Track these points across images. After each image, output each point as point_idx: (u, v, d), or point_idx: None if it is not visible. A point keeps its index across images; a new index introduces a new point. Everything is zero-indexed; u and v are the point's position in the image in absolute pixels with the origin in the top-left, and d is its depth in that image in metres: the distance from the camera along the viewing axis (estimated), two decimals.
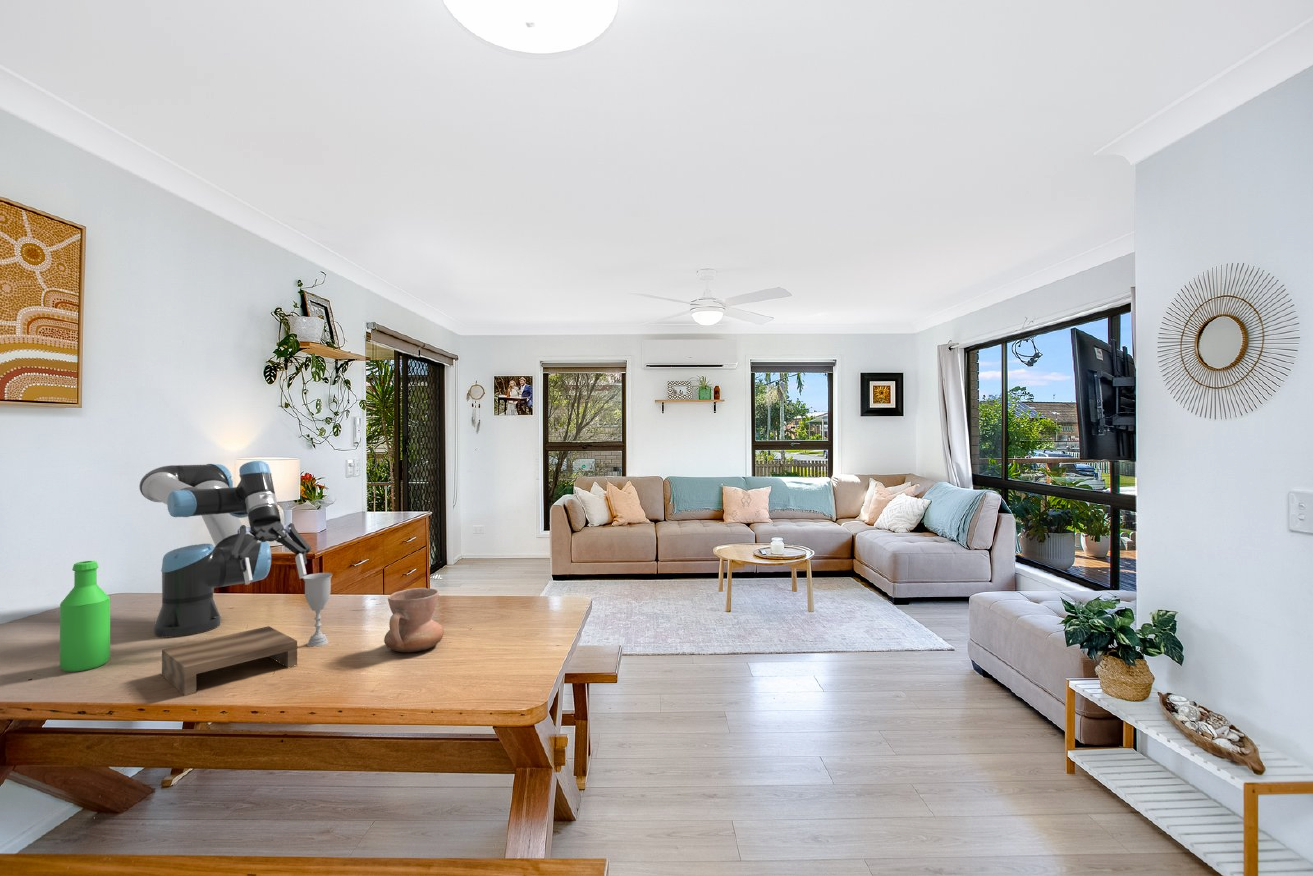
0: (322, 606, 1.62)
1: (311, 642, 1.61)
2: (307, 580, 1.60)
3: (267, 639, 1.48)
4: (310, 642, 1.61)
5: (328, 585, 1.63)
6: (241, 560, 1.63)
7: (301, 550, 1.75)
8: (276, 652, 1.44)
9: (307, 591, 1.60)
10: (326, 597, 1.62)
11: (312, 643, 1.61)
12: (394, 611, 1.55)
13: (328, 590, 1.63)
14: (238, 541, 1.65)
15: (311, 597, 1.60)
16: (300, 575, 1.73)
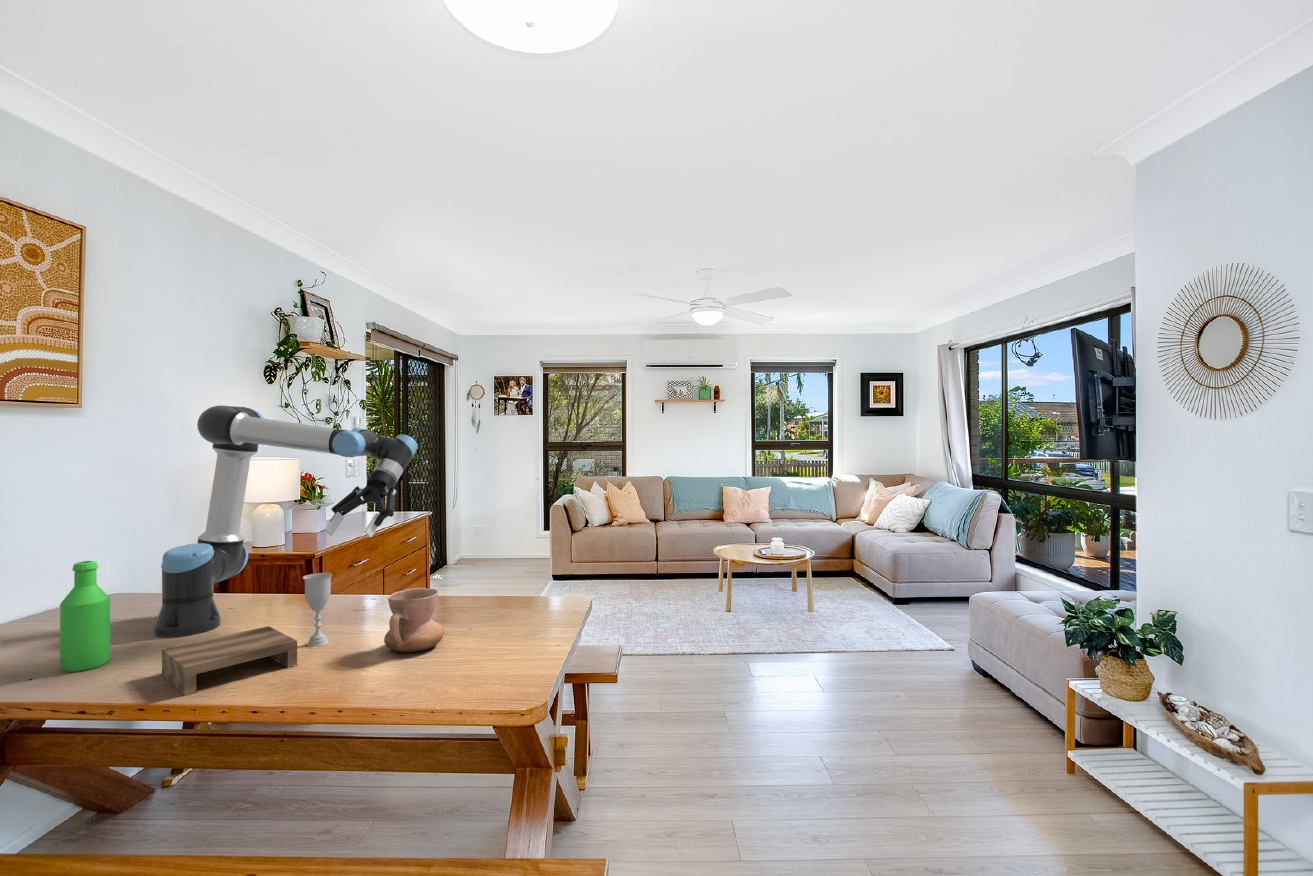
0: (322, 606, 1.63)
1: (311, 642, 1.61)
2: (307, 580, 1.60)
3: (267, 639, 1.48)
4: (310, 642, 1.61)
5: (328, 585, 1.63)
6: None
7: None
8: (276, 652, 1.44)
9: (307, 591, 1.60)
10: (326, 597, 1.62)
11: (312, 643, 1.61)
12: (394, 611, 1.55)
13: (328, 590, 1.63)
14: None
15: (311, 597, 1.60)
16: (329, 530, 1.75)
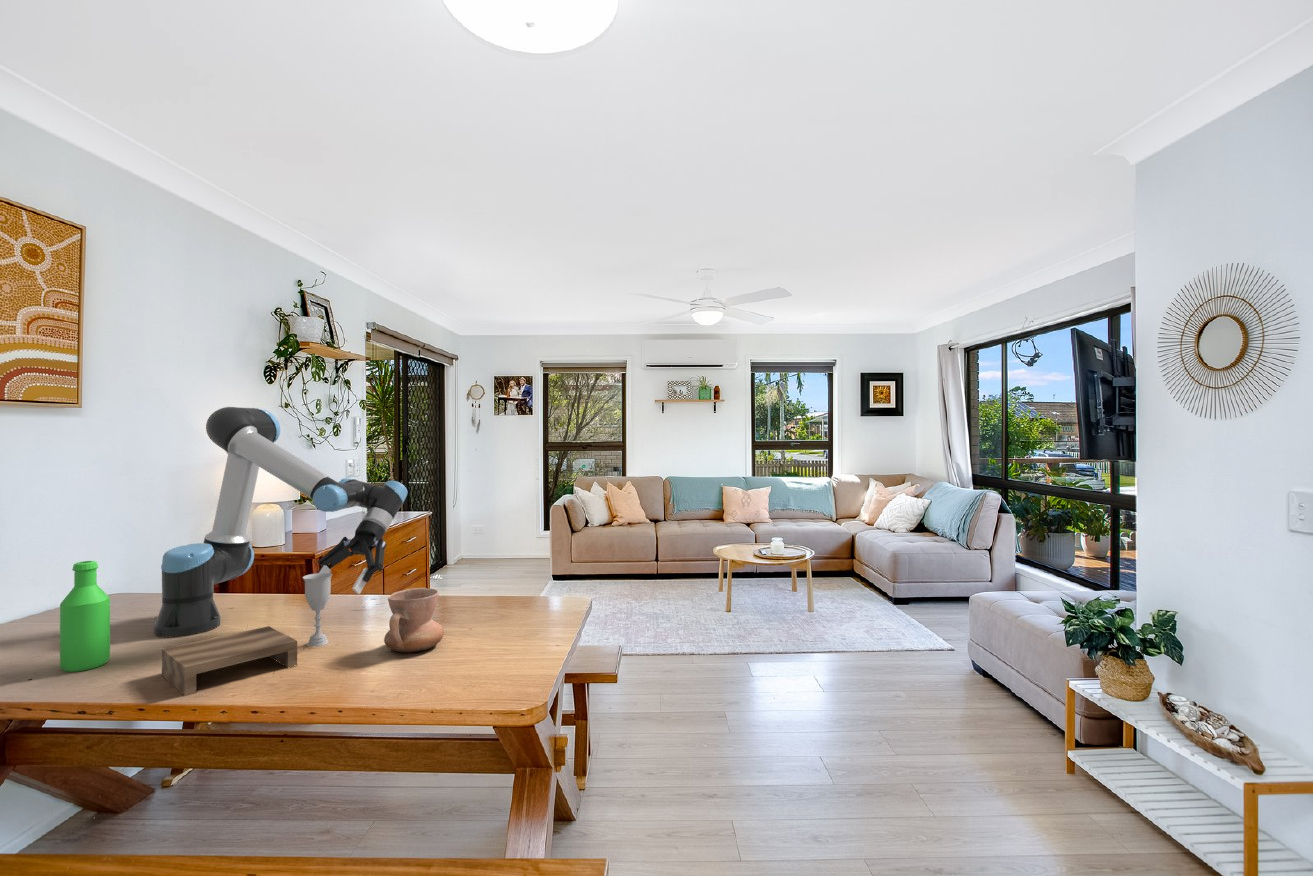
0: (322, 606, 1.62)
1: (311, 642, 1.61)
2: (307, 580, 1.60)
3: (267, 639, 1.48)
4: (310, 642, 1.61)
5: (328, 585, 1.63)
6: None
7: None
8: (276, 652, 1.44)
9: (307, 591, 1.60)
10: (326, 597, 1.62)
11: (312, 643, 1.61)
12: (394, 611, 1.55)
13: (328, 590, 1.63)
14: None
15: (311, 597, 1.60)
16: None
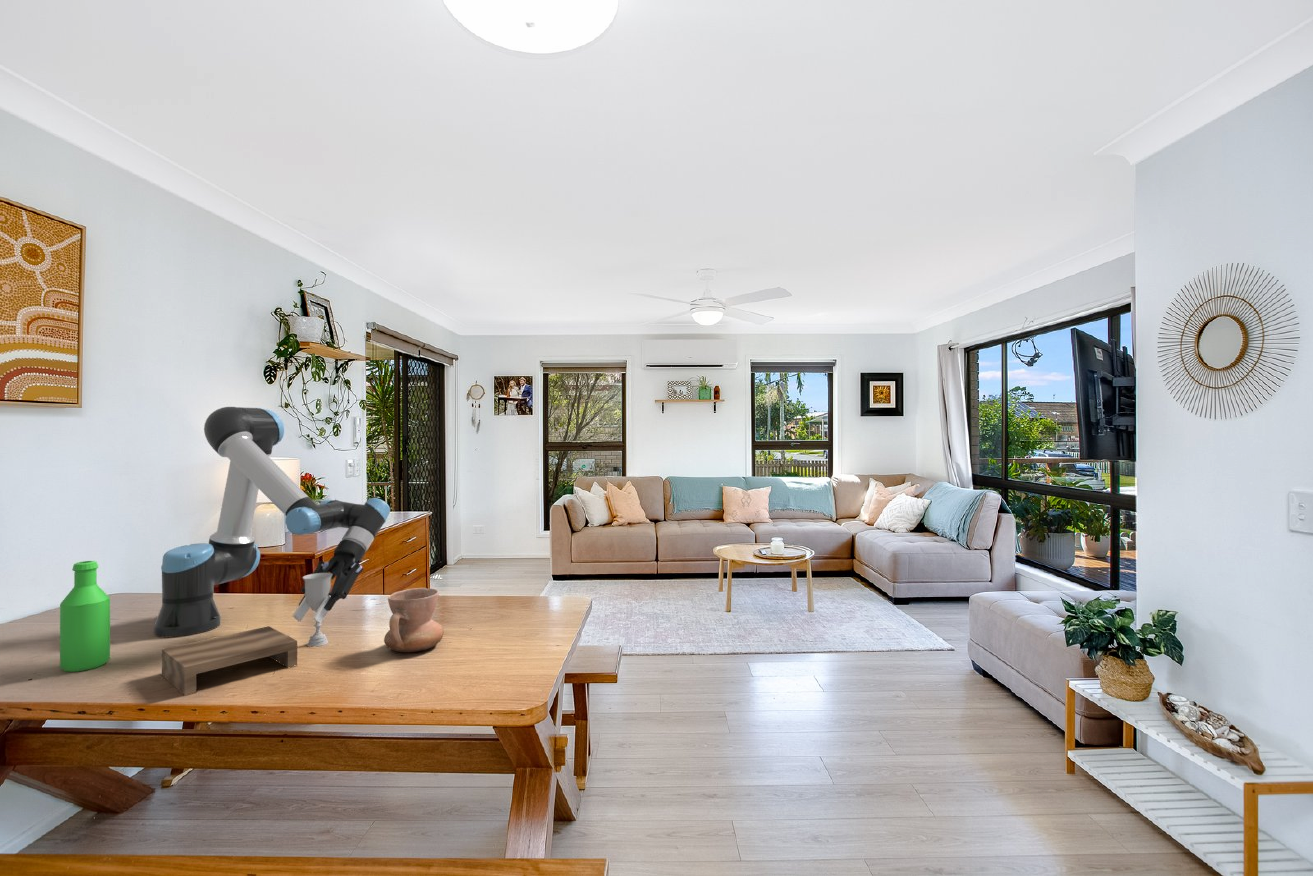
0: None
1: (311, 642, 1.61)
2: (307, 580, 1.60)
3: (267, 639, 1.48)
4: (310, 642, 1.61)
5: (328, 585, 1.63)
6: None
7: None
8: (276, 652, 1.44)
9: (307, 591, 1.60)
10: None
11: (312, 643, 1.61)
12: (394, 611, 1.55)
13: (328, 590, 1.63)
14: None
15: (311, 597, 1.60)
16: (297, 615, 1.60)
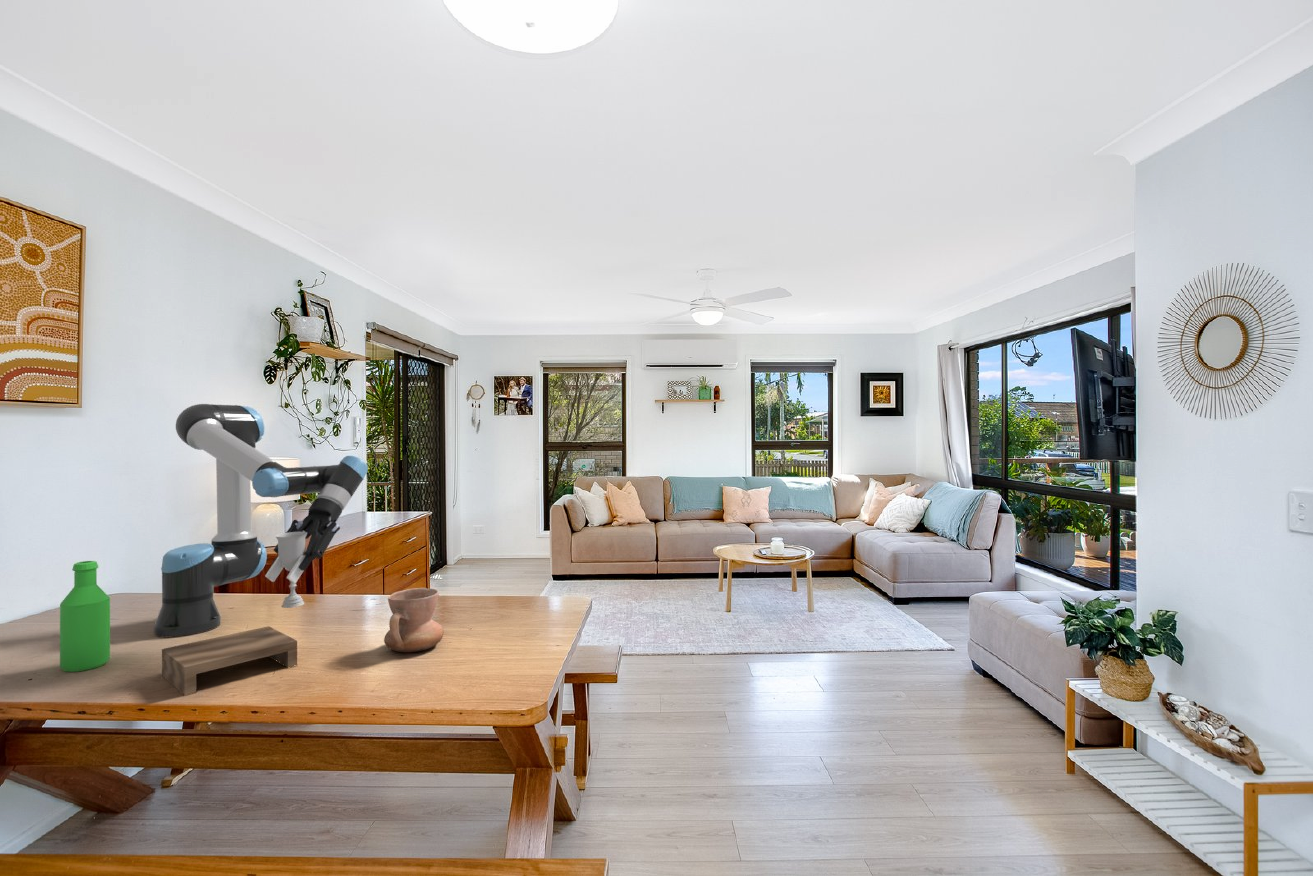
0: None
1: (286, 604, 1.54)
2: (280, 538, 1.52)
3: (267, 639, 1.48)
4: (285, 603, 1.54)
5: (303, 544, 1.55)
6: None
7: None
8: (276, 652, 1.44)
9: (280, 550, 1.52)
10: None
11: (287, 604, 1.53)
12: (394, 611, 1.55)
13: (303, 549, 1.55)
14: None
15: (284, 556, 1.52)
16: (270, 576, 1.52)
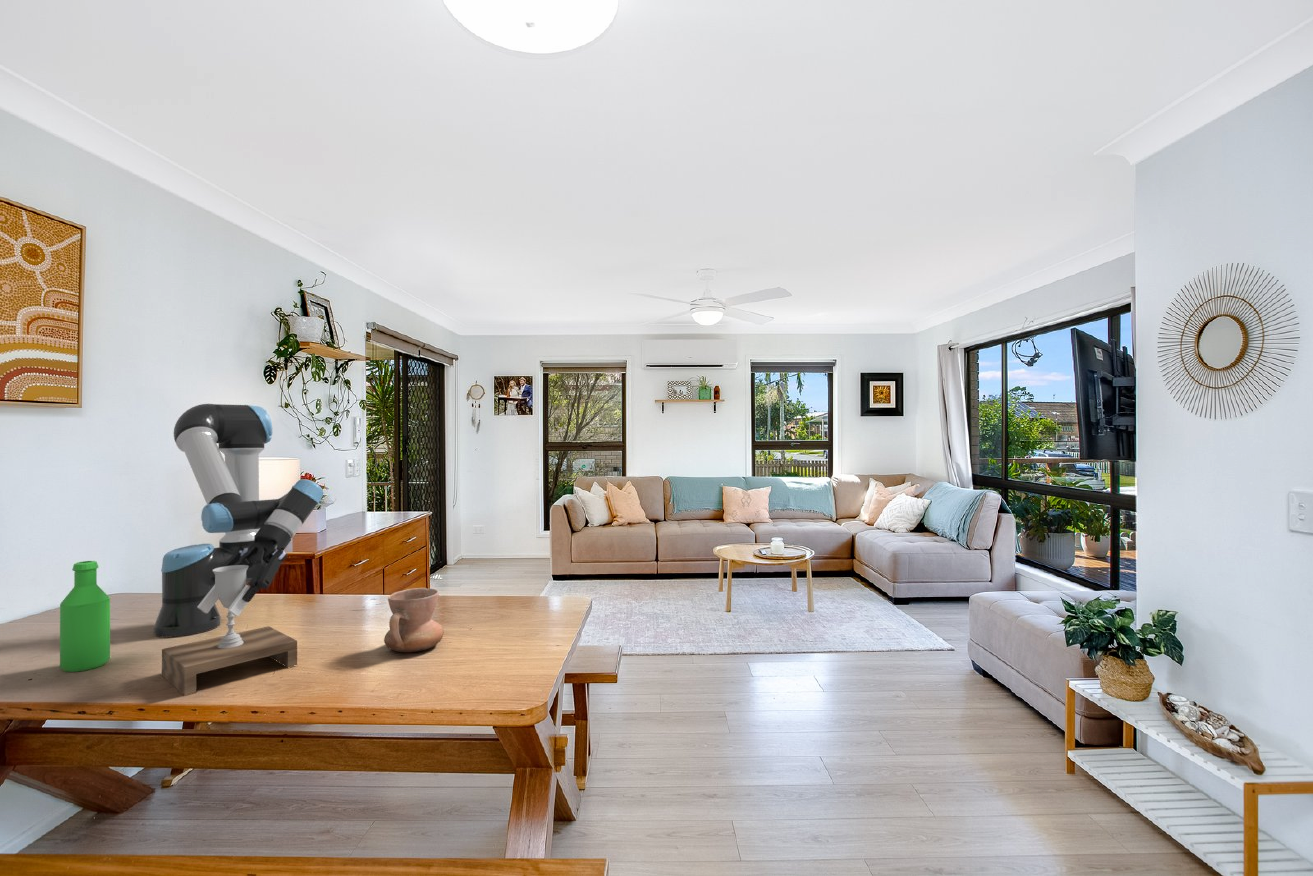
0: None
1: (222, 644, 1.42)
2: (217, 573, 1.41)
3: (267, 639, 1.48)
4: (221, 643, 1.42)
5: (242, 579, 1.44)
6: None
7: None
8: (276, 652, 1.44)
9: (217, 585, 1.41)
10: (240, 592, 1.44)
11: (223, 644, 1.42)
12: (394, 611, 1.55)
13: (242, 584, 1.44)
14: None
15: (221, 593, 1.41)
16: (203, 607, 1.42)
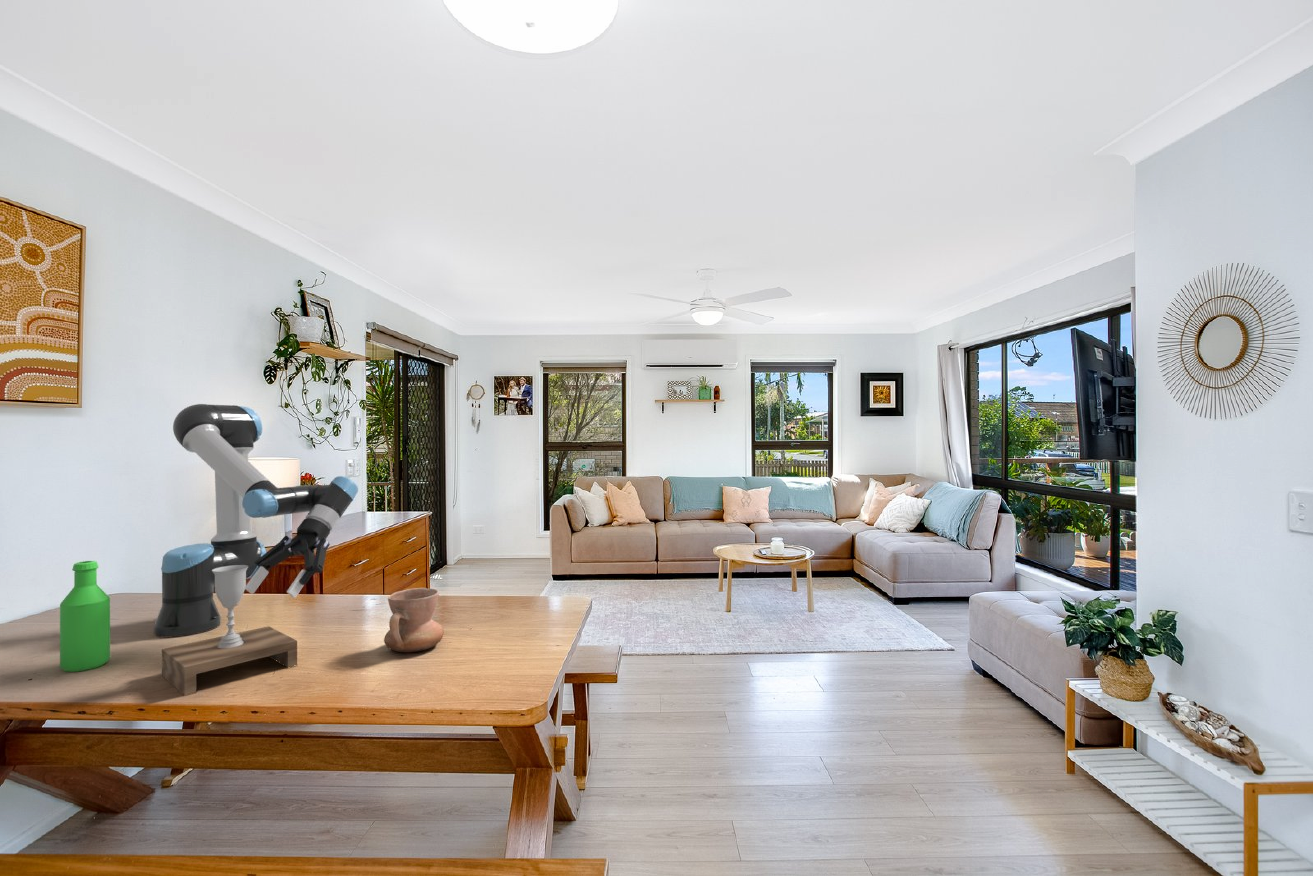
0: (235, 602, 1.44)
1: (222, 644, 1.42)
2: (216, 573, 1.41)
3: (267, 639, 1.48)
4: (221, 643, 1.42)
5: (242, 579, 1.44)
6: None
7: None
8: (276, 652, 1.44)
9: (217, 585, 1.41)
10: (240, 592, 1.44)
11: (223, 644, 1.42)
12: (394, 611, 1.55)
13: (242, 584, 1.44)
14: None
15: (221, 593, 1.41)
16: (249, 588, 1.56)
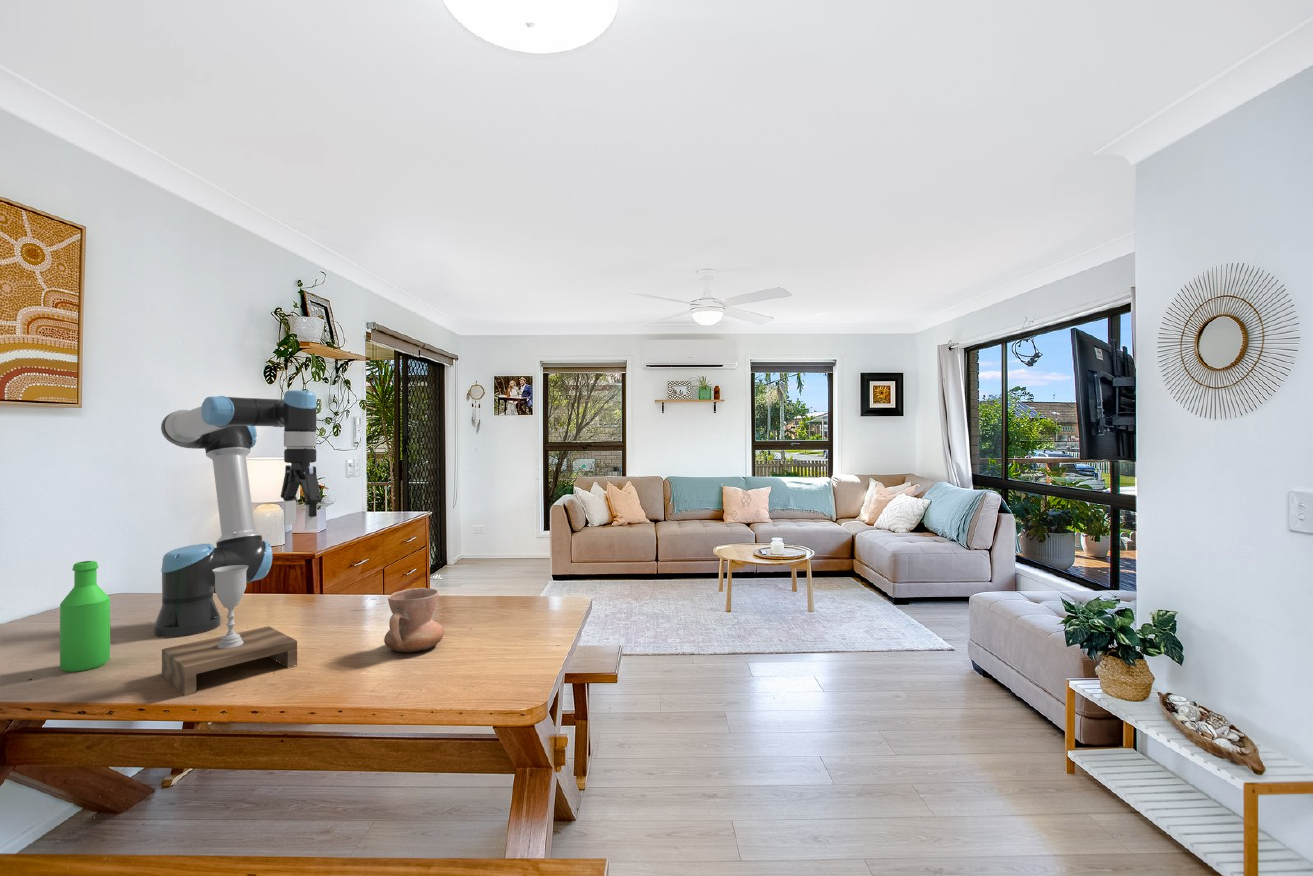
0: (235, 602, 1.44)
1: (222, 644, 1.42)
2: (217, 573, 1.41)
3: (267, 639, 1.48)
4: (221, 643, 1.42)
5: (242, 579, 1.44)
6: None
7: None
8: (276, 652, 1.44)
9: (217, 585, 1.41)
10: (240, 592, 1.44)
11: (223, 644, 1.42)
12: (394, 611, 1.55)
13: (242, 584, 1.44)
14: None
15: (221, 592, 1.41)
16: (288, 522, 1.69)
